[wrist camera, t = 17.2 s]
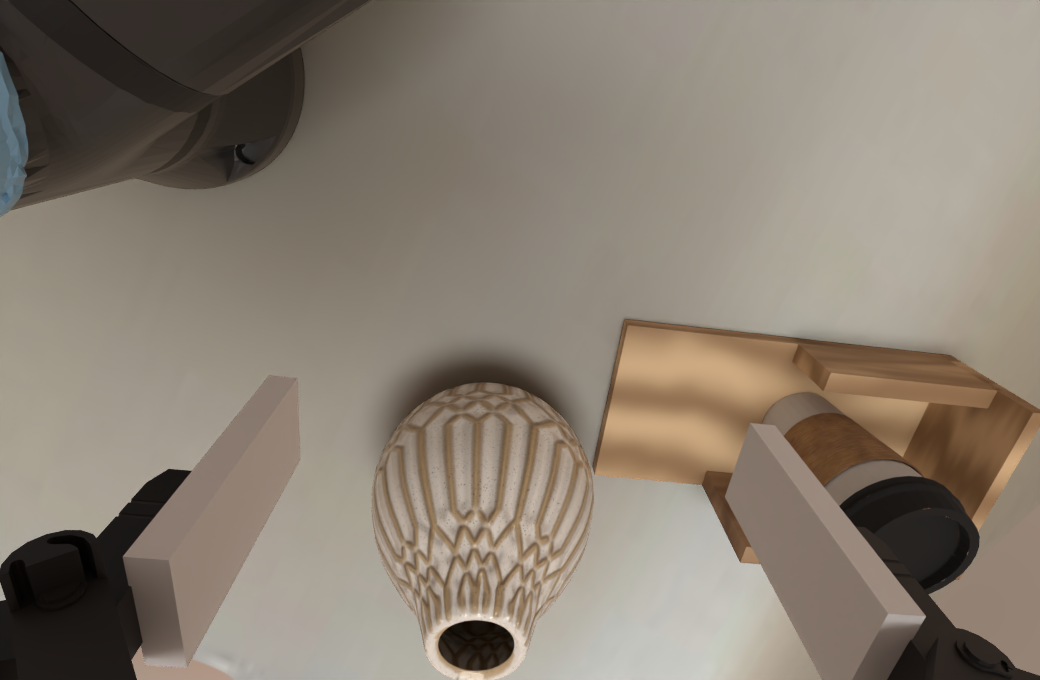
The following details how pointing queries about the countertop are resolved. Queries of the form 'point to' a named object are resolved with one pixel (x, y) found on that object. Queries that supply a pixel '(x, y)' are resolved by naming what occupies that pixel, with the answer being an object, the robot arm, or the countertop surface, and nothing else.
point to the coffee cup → (880, 489)
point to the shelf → (797, 369)
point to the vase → (481, 522)
